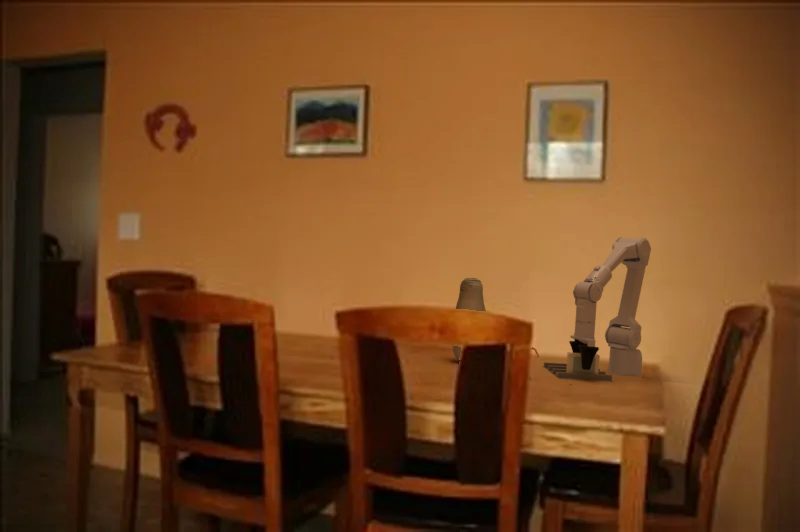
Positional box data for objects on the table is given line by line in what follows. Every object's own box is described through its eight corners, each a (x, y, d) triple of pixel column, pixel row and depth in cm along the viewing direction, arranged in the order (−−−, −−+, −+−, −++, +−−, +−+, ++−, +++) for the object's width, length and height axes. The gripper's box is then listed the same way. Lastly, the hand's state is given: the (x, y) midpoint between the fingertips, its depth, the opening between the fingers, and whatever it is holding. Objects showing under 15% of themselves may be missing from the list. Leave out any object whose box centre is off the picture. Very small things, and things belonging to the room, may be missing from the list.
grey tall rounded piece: (463, 358, 214) (468, 276, 213) (488, 363, 207) (493, 279, 207) (445, 361, 207) (450, 276, 206) (471, 366, 200) (476, 279, 199)
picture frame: (595, 377, 190) (597, 354, 190) (598, 378, 187) (599, 355, 187) (565, 375, 190) (567, 352, 189) (568, 377, 187) (569, 353, 187)
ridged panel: (591, 371, 204) (591, 364, 204) (613, 385, 184) (613, 376, 184) (542, 369, 204) (542, 361, 203) (559, 382, 184) (559, 373, 183)
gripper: (565, 318, 195) (562, 361, 196) (579, 324, 181) (576, 371, 181) (587, 319, 195) (584, 363, 196) (603, 325, 181) (600, 372, 181)
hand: (582, 367), depth 188 cm, fingers open, 7 cm apart
